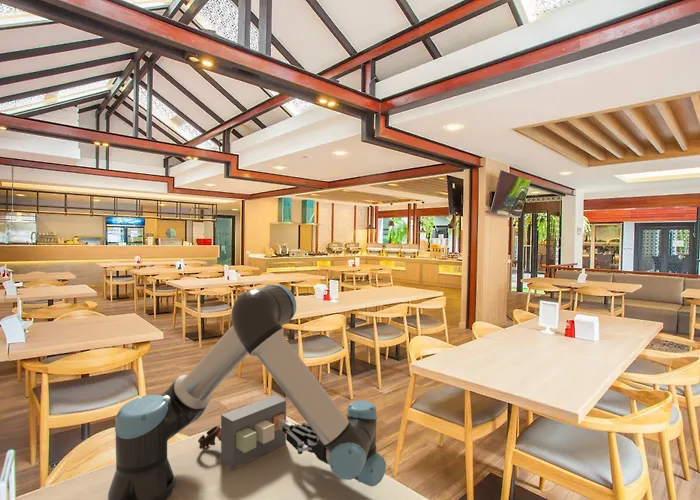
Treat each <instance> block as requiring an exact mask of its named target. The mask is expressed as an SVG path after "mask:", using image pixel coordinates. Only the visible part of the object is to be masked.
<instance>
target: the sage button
mask: <svg viewBox="0 0 700 500" xmlns="http://www.w3.org/2000/svg"><path fill="white" fill-rule="evenodd" d="M236 448H237V449H239V450H241V451H242V452H244V453H245V452H248V451H250V450H252V449H254V448H256V432H255V431H253V430H251V429H250V428H248V427H245V428H243V429H240V430H238V431H236Z"/></svg>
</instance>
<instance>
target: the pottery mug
mask: <svg viewBox="0 0 700 500" xmlns="http://www.w3.org/2000/svg"><path fill="white" fill-rule="evenodd" d="M206 434H207V435H206V436H205V434H202V435H201V436H200V438H198V440H197V442H198V443H199V446H198V449H200V450H201V449H202V450H203V451H206V448H208V447H209V446H215V445H216V442H215V441H216V437H217V439H218V441H220V442H221V425H215V426H214V427H212V428H211V429H209V430H208V431H206Z"/></svg>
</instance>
